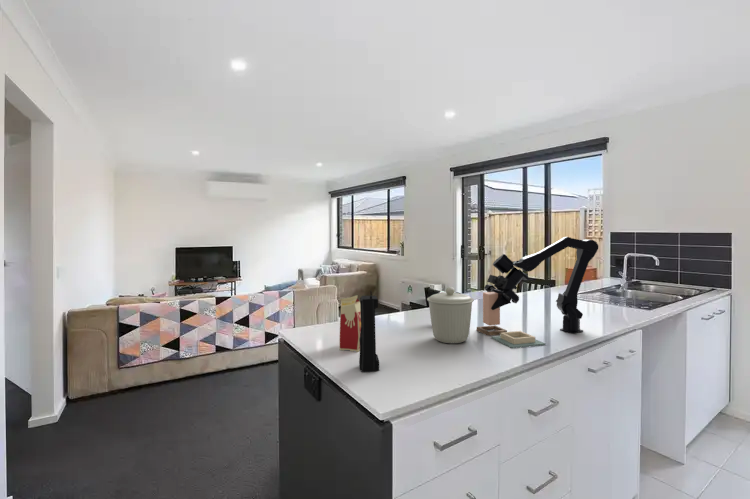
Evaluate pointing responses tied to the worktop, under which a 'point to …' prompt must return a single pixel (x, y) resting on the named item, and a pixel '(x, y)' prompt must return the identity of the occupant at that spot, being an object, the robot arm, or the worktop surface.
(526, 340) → the mat
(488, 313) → the peg
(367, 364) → the portable radio
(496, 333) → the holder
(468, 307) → the canister
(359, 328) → the milk carton
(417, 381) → the worktop surface
